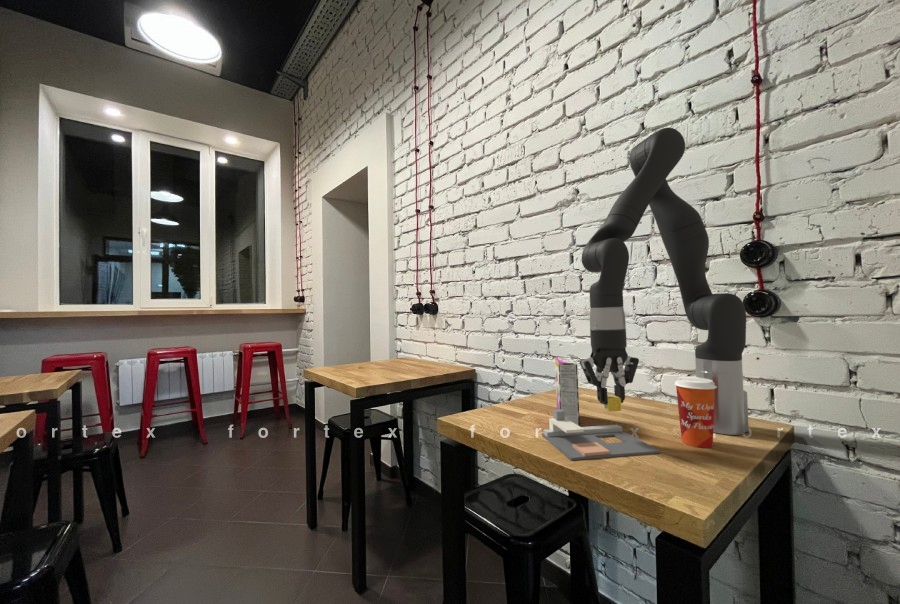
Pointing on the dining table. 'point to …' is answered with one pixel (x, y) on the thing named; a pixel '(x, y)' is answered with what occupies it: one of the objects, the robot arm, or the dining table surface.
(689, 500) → the dining table surface
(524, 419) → the dining table surface
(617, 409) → the alphabet block
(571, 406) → the candy bar box
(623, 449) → the puzzle board
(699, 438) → the paper cup
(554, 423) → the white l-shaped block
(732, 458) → the dining table surface
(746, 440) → the dining table surface
